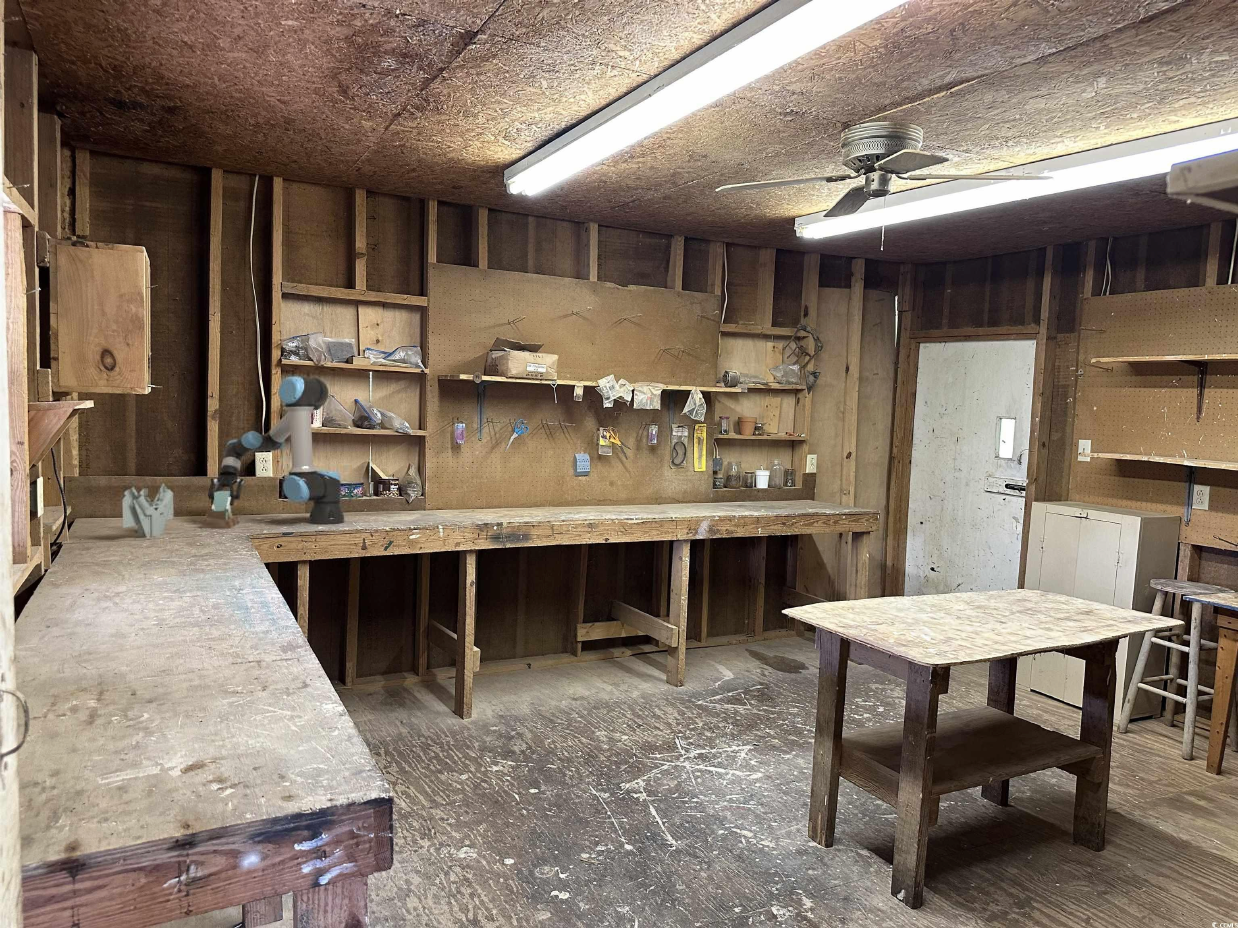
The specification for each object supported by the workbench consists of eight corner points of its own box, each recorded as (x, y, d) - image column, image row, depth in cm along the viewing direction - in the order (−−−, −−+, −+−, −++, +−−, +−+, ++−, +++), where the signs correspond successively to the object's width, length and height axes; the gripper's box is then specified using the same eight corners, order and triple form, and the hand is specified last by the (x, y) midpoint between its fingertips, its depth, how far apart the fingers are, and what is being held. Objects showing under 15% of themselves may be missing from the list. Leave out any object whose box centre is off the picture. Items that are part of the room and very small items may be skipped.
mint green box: (218, 516, 357) (218, 491, 357) (231, 516, 358) (230, 491, 358) (214, 518, 351) (214, 492, 350) (226, 518, 352) (226, 492, 351)
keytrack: (212, 523, 357) (211, 507, 357) (239, 523, 359) (238, 507, 359) (201, 528, 343) (201, 511, 342) (230, 528, 345) (230, 511, 344)
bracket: (132, 541, 307) (131, 488, 306) (115, 540, 308) (114, 487, 307) (181, 531, 334) (181, 482, 333) (166, 530, 335) (165, 482, 334)
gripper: (253, 475, 370) (244, 516, 355) (210, 474, 367) (199, 516, 352) (250, 464, 365) (241, 505, 350) (206, 463, 361) (195, 505, 346)
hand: (220, 510), depth 351 cm, fingers closed on mint green box, 5 cm apart
